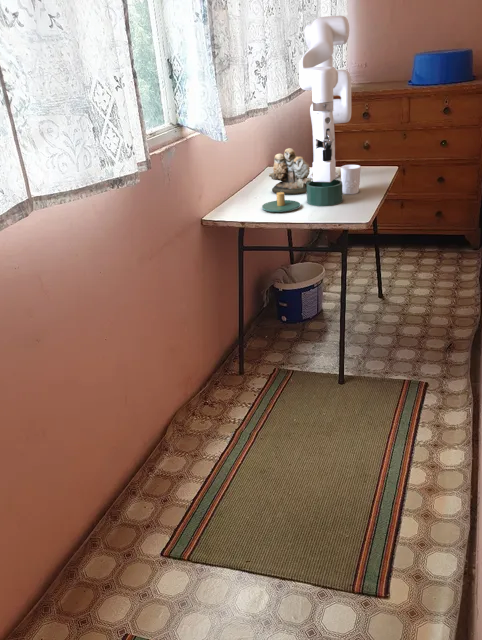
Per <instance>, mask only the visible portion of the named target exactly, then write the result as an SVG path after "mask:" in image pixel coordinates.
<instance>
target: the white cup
mask: <svg viewBox="0 0 482 640" xmlns="http://www.w3.org/2000/svg"><path fill="white" fill-rule="evenodd" d="M361 168H362V166H361V165H359V164H345V165H342V166H340V181H342V194H344V195H355V194H358V193H359V192H360V184H361Z"/></svg>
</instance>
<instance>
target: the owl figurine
mask: <svg viewBox="0 0 482 640" xmlns="http://www.w3.org/2000/svg"><path fill="white" fill-rule="evenodd" d="M273 162H274V163H273V167H272V171H273V172H271V173H268V177H269V178H271V180H273V181H279V182H278V183H276V184H275V185H273V187H272V188H271V191H272V193H273V194H276V195H277V193H278V192H284V195H285V196H295V195H297V196H298V195H305V194H307V185H306V184H307V183H308V182H310V181H312V179H311V178H310V177H309V176H310V171H311V169H310V164H309V163H308V162H306V160H305V158H304V156H298V155H296V151H295V150H294V149H293V148H290V147H288V148H286V149H285V150H284V152H283V154H282V153H277V154H275V155H274V159H273Z"/></svg>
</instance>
